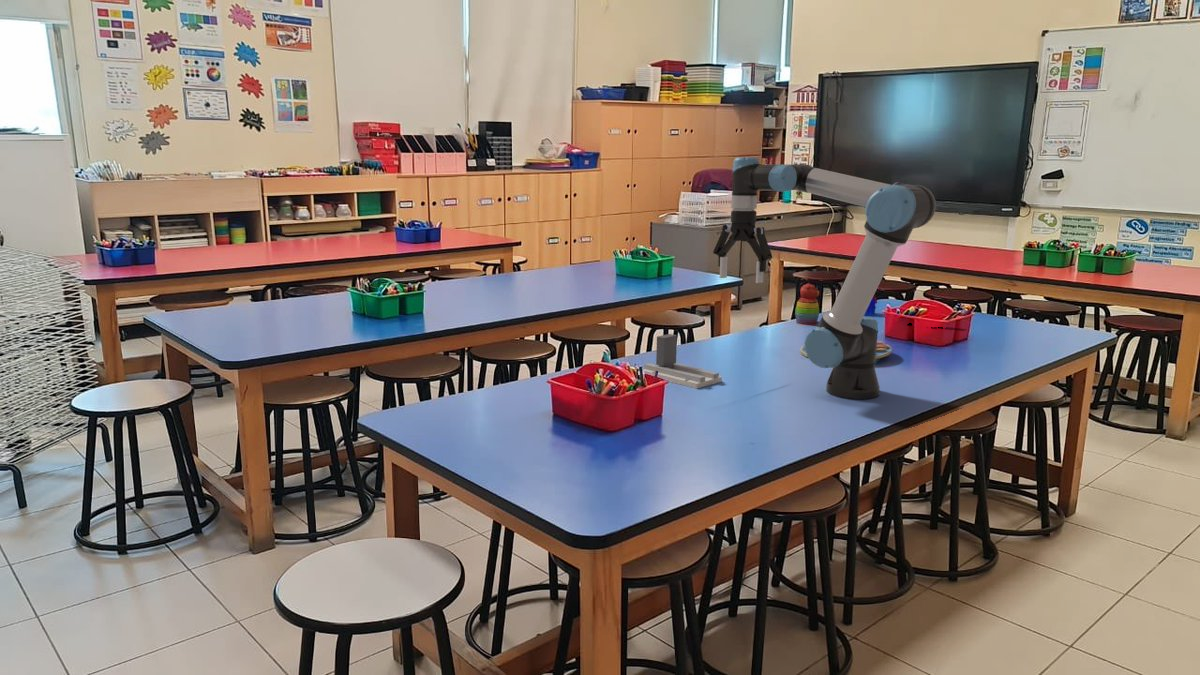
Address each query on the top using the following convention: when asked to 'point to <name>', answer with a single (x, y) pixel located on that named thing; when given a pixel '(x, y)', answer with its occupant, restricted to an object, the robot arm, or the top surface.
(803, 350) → the shape sorting clock
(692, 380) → the panel
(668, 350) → the fader
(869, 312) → the fantasy tower
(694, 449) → the top surface
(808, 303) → the stacking bear
